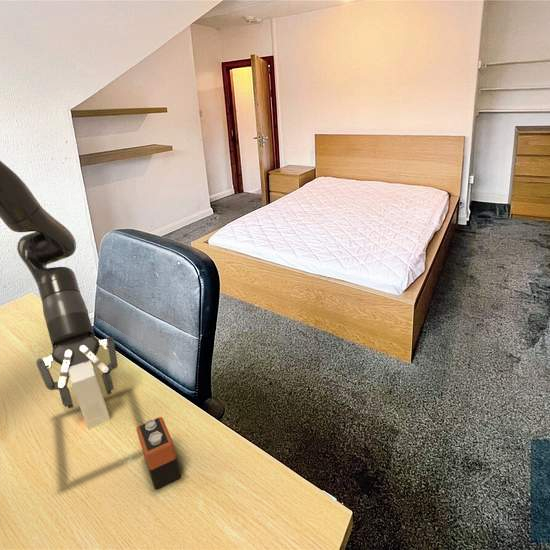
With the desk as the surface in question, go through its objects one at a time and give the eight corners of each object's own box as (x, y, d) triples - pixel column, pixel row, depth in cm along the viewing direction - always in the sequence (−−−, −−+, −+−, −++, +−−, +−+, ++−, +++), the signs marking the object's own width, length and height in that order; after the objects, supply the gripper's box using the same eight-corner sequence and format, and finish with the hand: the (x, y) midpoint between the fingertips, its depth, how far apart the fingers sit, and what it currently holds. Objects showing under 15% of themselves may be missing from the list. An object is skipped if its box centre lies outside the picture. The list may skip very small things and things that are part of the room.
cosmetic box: (84, 413, 82) (67, 365, 77) (106, 405, 84) (91, 357, 78) (88, 433, 77) (70, 383, 72) (112, 423, 79) (96, 374, 74)
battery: (156, 495, 65) (143, 450, 60) (146, 464, 70) (134, 421, 66) (183, 482, 66) (172, 438, 62) (171, 453, 72) (160, 410, 68)
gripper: (21, 324, 74) (44, 414, 70) (104, 301, 80) (129, 383, 76) (31, 335, 81) (52, 418, 76) (106, 313, 87) (130, 388, 82)
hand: (90, 400), depth 76 cm, fingers open, 6 cm apart
